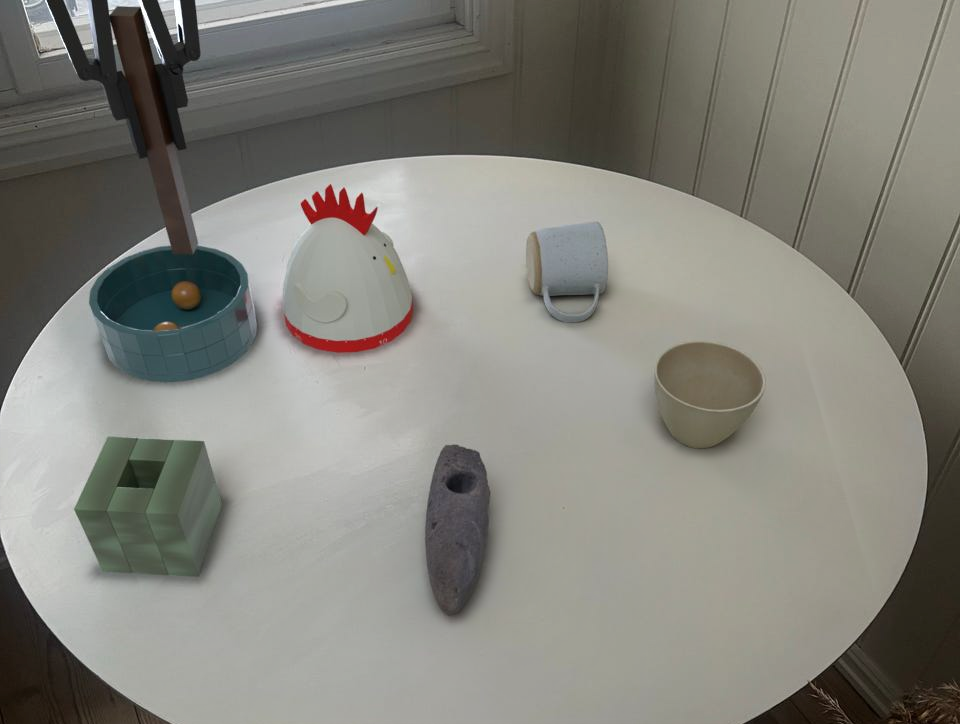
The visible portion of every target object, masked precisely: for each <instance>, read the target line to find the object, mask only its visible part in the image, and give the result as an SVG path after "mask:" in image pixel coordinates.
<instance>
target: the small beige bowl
mask: <svg viewBox="0 0 960 724" xmlns="http://www.w3.org/2000/svg"><path fill="white" fill-rule="evenodd" d="M653 373H654V374H653V379H654V392H655V397H656V403H657V406H658V409H659V412H660V416H661V418H662V420H663V423H665V426H666V427H667V430H668V431H669V433H670V435H672V437H673V438H674V439H675V440H676V441H677V442H678V443H680V444H682V445H684V446H686V447H689V448H693V449H708V448H712V447H714V446H717V445H719V444H720V443H722V442H724V441H725V440H726V439H728V438H729V437H730V436H732V435H733V434H734V433H735V432H737V431H738V429H740V428H741V427H742V425H743V424H744V423H745V422H746V421H747V420H748V418H750V416H751V415H752V413H753V412H754V410H755V409H756V408H757V406H758V404H759V403H760V401H761V399H762V397H763V394H764V392H765V389H766V385H767V381H766V375H765V373H764V370H763V369H762V367H761V365H760V364H759V363H758V362H757V361H756V360H755V359H754V358H753V357H752V356H751V355H749V354H748V353H746V352H745V351H743V350H741V349H739V348H737V347H735V346H732V345H730V344H726V343H722V342H719V341H711V340H688V341H683V342H680V343H675V344H673V345H671V346H669V347H668V348H666V349H664V351H662V352H661V353H660V354H659V355H658V357H657V359H656V361H655V364H654V370H653Z"/></svg>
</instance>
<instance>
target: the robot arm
mask: <svg viewBox="0 0 960 724" xmlns="http://www.w3.org/2000/svg"><path fill="white" fill-rule="evenodd" d="M44 1H45V4H46V6H47V8H48V10H49V12H50V16H51V17H52V20H53V22H54V24H55V26H56V29H57V32H58V35H59V36H60V39H61V41H62V44H63V46H64V48H65V50H66V53H67V55H68V58H69V60H70V62H71V65H72V67H73V69H74V71H75V73H76V75H77V77H78V78H79V79H80V80H81V81H84V82H88V81H95V82H99V83H100V84H101V86H102V89H103V92H104V97H105V99H106V103H107V107H108V110H109V112H110V114H111V115H112V117H113V118H114V120H115V121H117V122H118V121H122V120H125V122H126V126H127V129H128V133H129V137H130V140H131V144H132V147H133V149H134V150H135V152H136V155H137V157H138V158H139V160H141V159H147V157H148V154H147V150H146V146H145V142H144V139H143V135H142V131H141V127H140V124H139V120H138V116H137V112H136V109H135V105H134V101H133V97H132V94H131V90H130V86H129V83H128V81H127V79H126V77H125V74H124V71H123V70H118V69H117V62H116V61H117V60H116V54H115V46H114V38H113V29H112V25H111V22H110V8H109V2H108V1H109V0H86V6H87V13H88V19H89V26H90V33H91V40H92V47H93V54H94V58H89V57H88V56H87V54H86V52H85V48H84V47H83V44H82V42H81V39H80V37H79V34H78V32H77V29H76V27H75V25H74V22H73V19H72V17H71V15H70V12H69V10H68V8H67V5H66V3H65V0H44ZM138 3H139V7H141V9H142V13H143V17H144V20H145V23H146V25H147V27H148V29H149V32H150V34H151V37H152V40H153V43H154V45H155V48H156V51H157V53H158V56H159V58H160V60H161V63H157V64H156V63H155V67H156V72H157V76H158V80H159V84H160V88H161V92H162V96H163V100H164V105H165V109H166V113H167V117H168V121H169V125H170V129H171V133H172V137H173V142H174V145H175V148H176V149H177V151H183V150H187V149H188V148H187V144H186V140H185V135H184V131H183V127H182V123H181V118H180V114H179V110H178V109H182V108H186V107H188V103H189V98H188V94H187V90H186V85H185V80H184V75H183V73H184V66H185V65H187V64H188V63H190V62H196V61H199V59H200V58H201V52H202V51H201V45H200V35H199V23H198V13H197V6H196V0H173V6H174V15H175V16H174V17H175V24H176V31H177V42H176V43H175V44H174V41H173V37H172V36H171V33H170V30H169V28H168V24H167V22H166V19H165V16H164V13H163V11H162V8H161V5H160V2H159V0H138Z"/></svg>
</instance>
